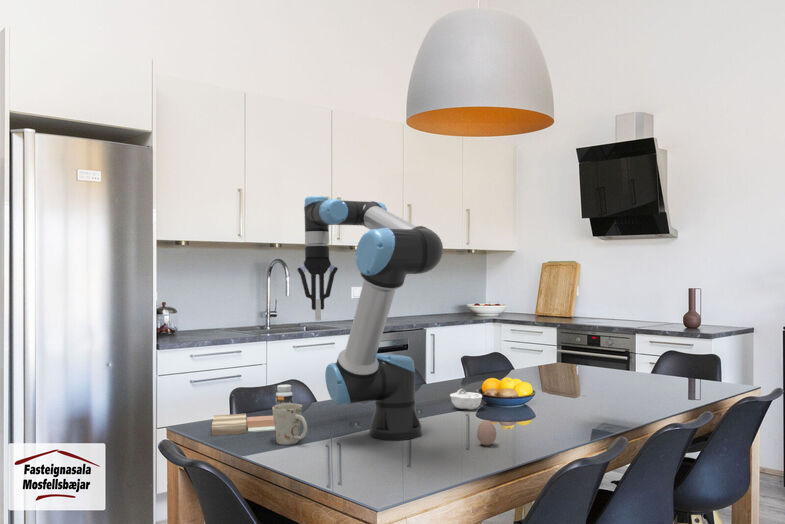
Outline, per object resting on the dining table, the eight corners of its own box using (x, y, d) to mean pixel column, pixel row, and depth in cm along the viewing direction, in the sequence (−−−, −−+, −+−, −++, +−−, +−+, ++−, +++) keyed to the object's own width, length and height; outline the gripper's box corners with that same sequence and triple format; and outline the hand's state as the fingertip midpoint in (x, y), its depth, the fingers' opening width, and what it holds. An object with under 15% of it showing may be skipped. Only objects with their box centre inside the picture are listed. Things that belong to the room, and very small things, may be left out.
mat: (288, 429, 201) (288, 428, 201) (248, 432, 198) (248, 431, 198) (285, 418, 217) (285, 416, 217) (247, 420, 214) (247, 419, 214)
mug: (288, 436, 193) (288, 402, 193) (319, 443, 185) (318, 407, 185) (266, 442, 186) (266, 407, 186) (297, 450, 178) (296, 412, 178)
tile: (276, 421, 210) (276, 415, 210) (277, 426, 204) (277, 419, 204) (247, 423, 208) (246, 417, 208) (247, 428, 202) (247, 421, 202)
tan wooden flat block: (246, 433, 197) (246, 424, 197) (211, 435, 195) (211, 427, 195) (246, 421, 213) (246, 413, 213) (213, 423, 211) (213, 415, 211)
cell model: (468, 414, 219) (468, 393, 219) (443, 408, 228) (443, 389, 228) (489, 409, 225) (489, 389, 225) (464, 404, 234) (464, 385, 234)
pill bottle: (276, 418, 217) (276, 387, 217) (275, 414, 223) (274, 384, 223) (294, 416, 219) (293, 386, 219) (292, 413, 224) (291, 383, 224)
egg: (473, 445, 180) (472, 420, 180) (485, 441, 184) (484, 417, 184) (488, 449, 177) (488, 423, 177) (500, 445, 180) (499, 420, 180)
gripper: (335, 245, 215) (336, 318, 215) (295, 246, 212) (296, 319, 212) (339, 244, 207) (340, 320, 207) (297, 245, 205) (298, 321, 204)
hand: (318, 320), depth 209 cm, fingers closed
